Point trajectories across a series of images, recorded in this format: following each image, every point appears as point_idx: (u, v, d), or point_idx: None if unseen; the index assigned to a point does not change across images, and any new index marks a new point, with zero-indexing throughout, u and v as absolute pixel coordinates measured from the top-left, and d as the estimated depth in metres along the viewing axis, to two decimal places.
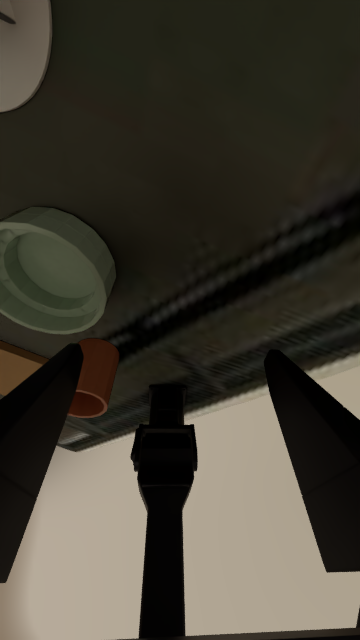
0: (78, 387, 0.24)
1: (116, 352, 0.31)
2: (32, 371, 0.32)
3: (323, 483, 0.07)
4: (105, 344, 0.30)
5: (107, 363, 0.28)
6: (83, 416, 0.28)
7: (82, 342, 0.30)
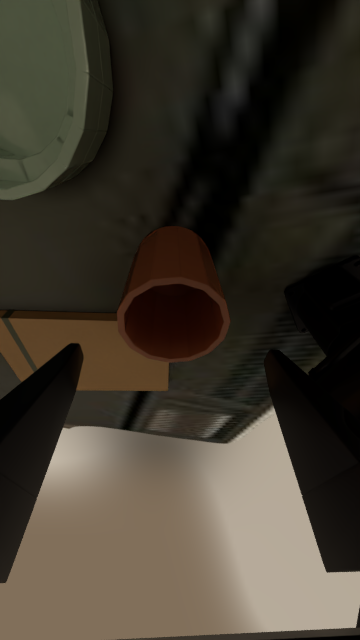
0: (147, 278, 0.11)
1: (198, 237, 0.17)
2: (110, 339, 0.23)
3: (323, 483, 0.07)
4: (172, 228, 0.16)
5: (189, 244, 0.14)
6: (197, 355, 0.14)
7: (138, 247, 0.17)
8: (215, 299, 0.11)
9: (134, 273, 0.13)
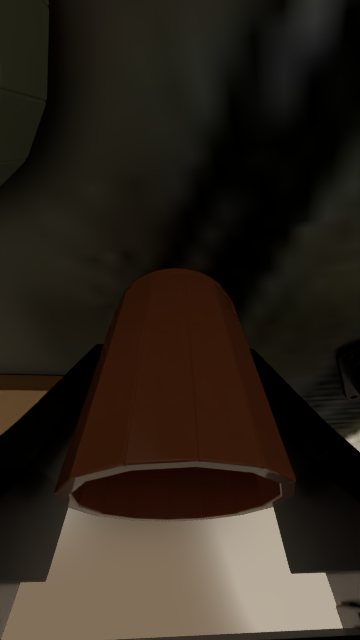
0: (117, 449, 0.04)
1: (217, 286, 0.10)
2: None
3: None
4: (175, 273, 0.10)
5: (206, 315, 0.08)
6: (218, 517, 0.08)
7: (120, 300, 0.11)
8: (274, 479, 0.05)
9: (98, 393, 0.06)
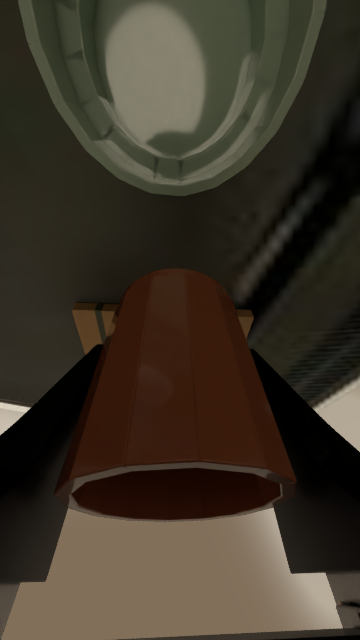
0: (117, 450, 0.04)
1: (218, 287, 0.10)
2: None
3: None
4: (175, 273, 0.10)
5: (207, 315, 0.08)
6: (218, 517, 0.08)
7: (121, 301, 0.11)
8: (274, 480, 0.05)
9: (98, 393, 0.06)
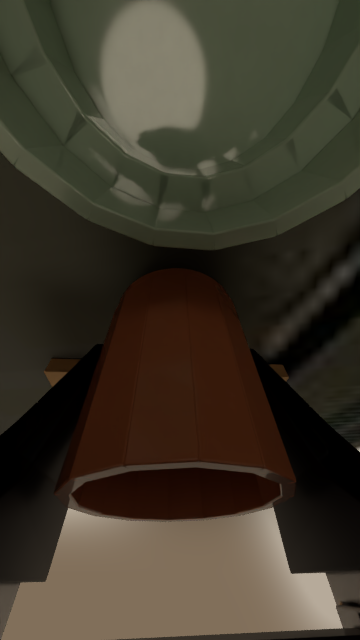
0: (117, 449, 0.04)
1: (217, 286, 0.10)
2: None
3: None
4: (175, 273, 0.10)
5: (206, 315, 0.08)
6: (218, 517, 0.08)
7: (120, 300, 0.11)
8: (274, 480, 0.05)
9: (98, 393, 0.06)
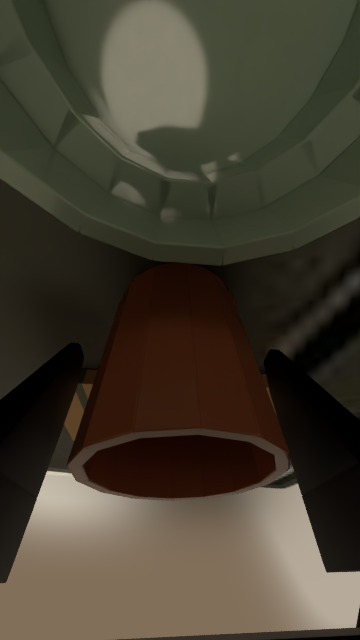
0: (126, 419, 0.05)
1: (217, 280, 0.11)
2: None
3: (323, 483, 0.07)
4: (177, 267, 0.10)
5: (207, 305, 0.08)
6: (218, 495, 0.08)
7: (125, 294, 0.11)
8: (269, 450, 0.06)
9: (106, 374, 0.07)
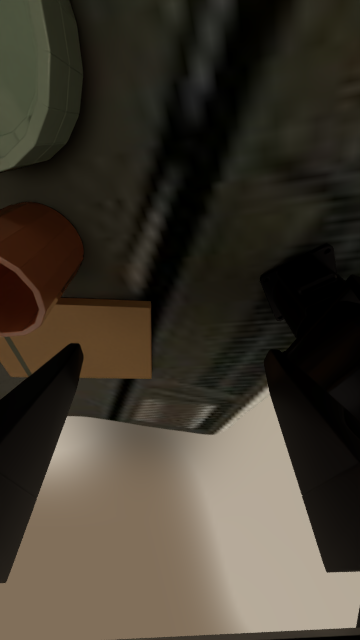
0: None
1: (54, 213, 0.17)
2: (91, 324, 0.23)
3: (323, 483, 0.07)
4: (24, 203, 0.16)
5: (21, 217, 0.14)
6: (29, 329, 0.14)
7: None
8: (7, 266, 0.11)
9: None
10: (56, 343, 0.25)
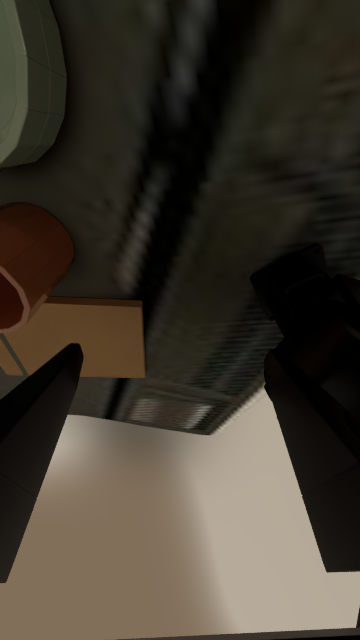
0: None
1: (43, 213, 0.17)
2: (84, 323, 0.23)
3: (323, 483, 0.07)
4: (13, 204, 0.16)
5: (9, 217, 0.14)
6: (15, 327, 0.14)
7: None
8: None
9: None
10: (49, 341, 0.25)
